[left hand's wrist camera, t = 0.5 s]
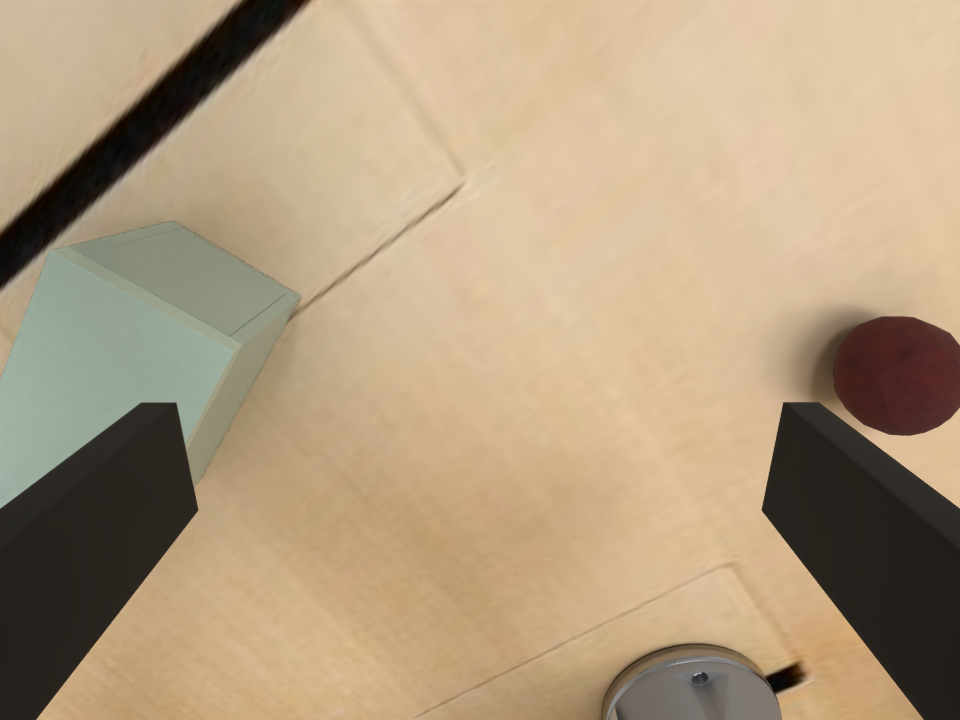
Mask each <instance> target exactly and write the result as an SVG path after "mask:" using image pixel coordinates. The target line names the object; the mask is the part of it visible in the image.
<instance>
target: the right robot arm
mask: <svg viewBox="0 0 960 720" xmlns="http://www.w3.org/2000/svg"><path fill="white" fill-rule="evenodd" d="M603 720H782V716H781V710H780V707H779V702H778V700H777V697H776V695H775V693H774V691H773V689H772V688H771V686H770V684H769V682H768V680H767V678H766V677H765V675H764V673H763V672H762V671H761V669H760V668H759V667H758V666H757V665H756V664H754V663H753V662H752V661H751V660H749V659H748V658H746V657H745V656H743V655H741V654H739V653H737V652H734V651H732V650H728V649H725V648H721V647H716V646H709V645H686V646H678V647H673V648H669V649H665V650H662V651H659V652H656V653H653V654H651V655H648V656H646V657H644V658H642V659H641V660H639V661H637V662H636V663H634V664H633V665H631V666H630V667H629V668H627V669H626V670H625V671H624V672H623V673H622V674H621V675H620V676H619V677H618V678H617V679H616V680H615V681H614V683H613V684H612V686H611V687H610V689H609V691H608V693H607V695H606V697H605V701H604V705H603Z"/></svg>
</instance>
